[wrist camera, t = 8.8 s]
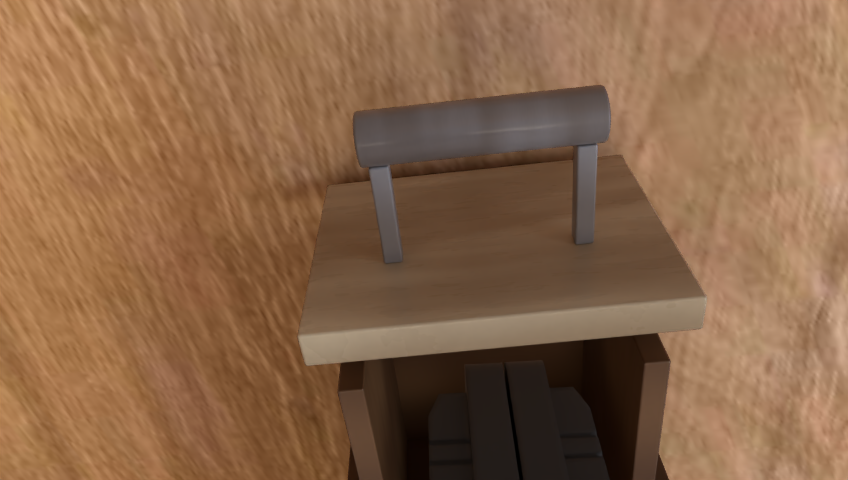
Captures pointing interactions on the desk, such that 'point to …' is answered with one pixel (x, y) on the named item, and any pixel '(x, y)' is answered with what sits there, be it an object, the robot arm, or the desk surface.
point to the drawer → (494, 276)
